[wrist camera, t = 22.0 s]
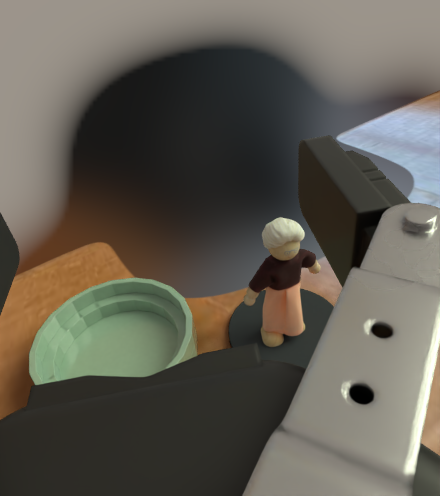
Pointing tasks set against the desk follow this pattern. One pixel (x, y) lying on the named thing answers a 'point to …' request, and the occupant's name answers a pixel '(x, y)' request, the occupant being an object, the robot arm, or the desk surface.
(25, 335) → the desk surface
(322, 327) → the coaster
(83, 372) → the bowl
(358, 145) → the desk surface
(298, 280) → the grandmother figurine
